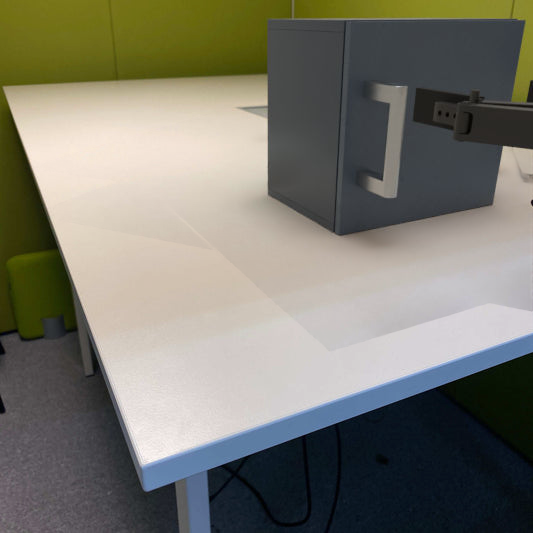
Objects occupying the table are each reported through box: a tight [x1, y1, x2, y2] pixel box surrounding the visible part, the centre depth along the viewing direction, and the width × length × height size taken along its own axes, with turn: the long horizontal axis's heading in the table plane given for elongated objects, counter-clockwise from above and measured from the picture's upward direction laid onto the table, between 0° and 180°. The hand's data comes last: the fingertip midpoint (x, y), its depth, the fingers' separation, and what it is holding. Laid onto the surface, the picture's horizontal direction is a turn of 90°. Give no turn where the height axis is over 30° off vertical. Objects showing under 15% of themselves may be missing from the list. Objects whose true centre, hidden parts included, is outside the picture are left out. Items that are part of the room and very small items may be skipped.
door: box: [334, 19, 527, 236], centre depth 66 cm, size 7×26×24 cm, turn 117°
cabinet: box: [267, 17, 518, 234], centre depth 76 cm, size 18×26×24 cm
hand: (476, 99), depth 49 cm, fingers open, 13 cm apart
